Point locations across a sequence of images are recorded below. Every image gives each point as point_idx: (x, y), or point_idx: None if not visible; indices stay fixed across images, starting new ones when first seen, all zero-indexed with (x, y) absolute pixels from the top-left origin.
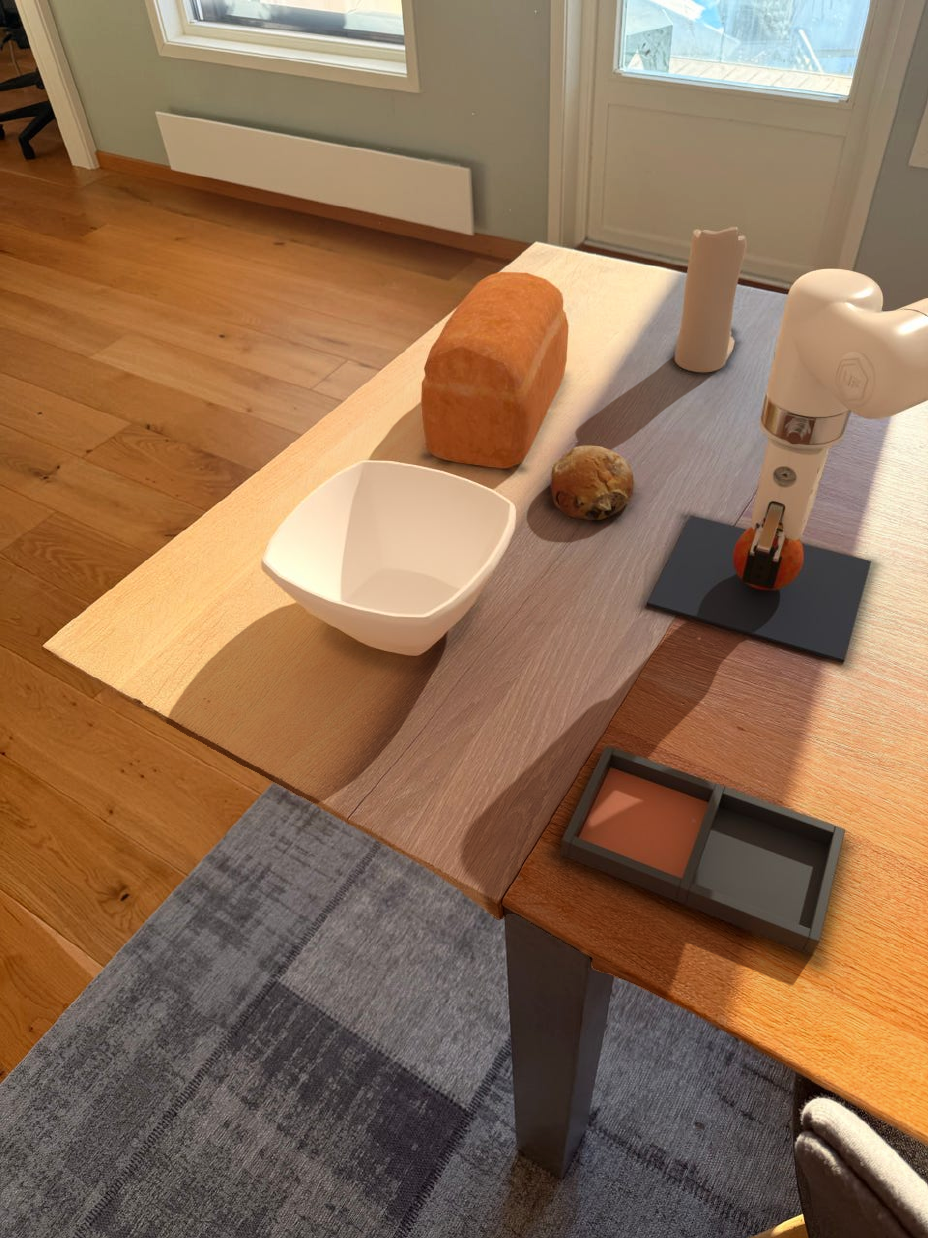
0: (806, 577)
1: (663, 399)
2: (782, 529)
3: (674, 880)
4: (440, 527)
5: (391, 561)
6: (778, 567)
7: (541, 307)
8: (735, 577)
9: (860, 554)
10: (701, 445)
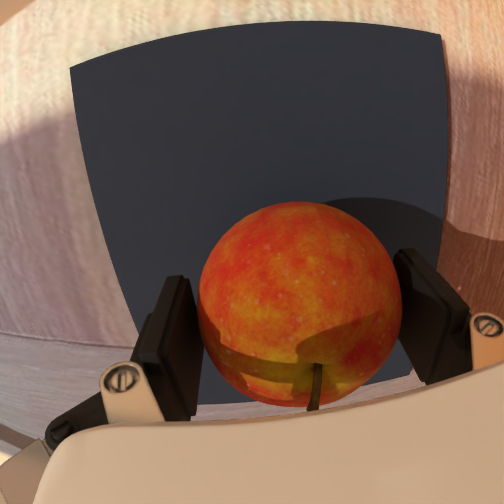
0: (213, 170)
1: (20, 437)
2: (280, 361)
3: None
4: None
5: None
6: (453, 290)
7: None
8: None
9: (55, 100)
10: (34, 407)
